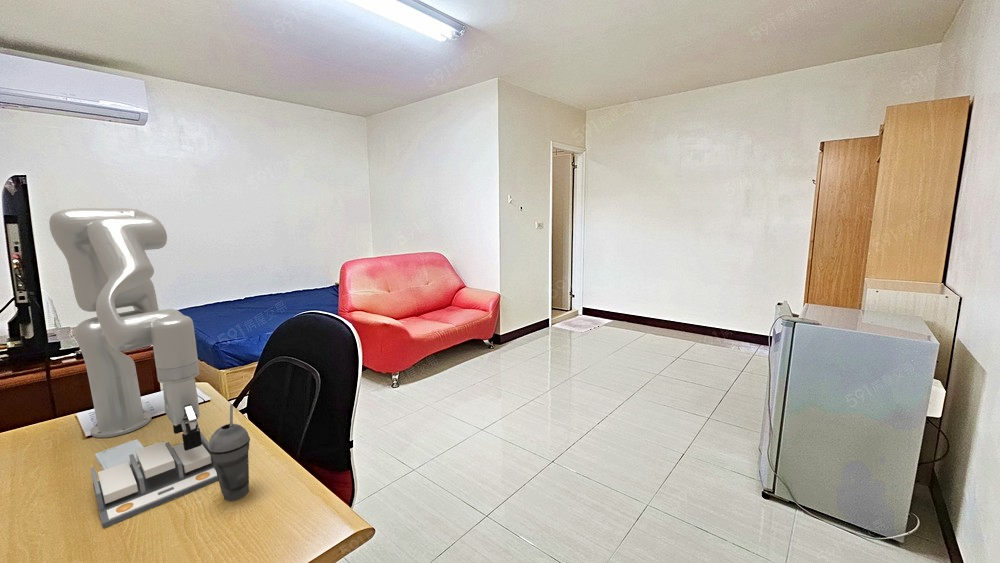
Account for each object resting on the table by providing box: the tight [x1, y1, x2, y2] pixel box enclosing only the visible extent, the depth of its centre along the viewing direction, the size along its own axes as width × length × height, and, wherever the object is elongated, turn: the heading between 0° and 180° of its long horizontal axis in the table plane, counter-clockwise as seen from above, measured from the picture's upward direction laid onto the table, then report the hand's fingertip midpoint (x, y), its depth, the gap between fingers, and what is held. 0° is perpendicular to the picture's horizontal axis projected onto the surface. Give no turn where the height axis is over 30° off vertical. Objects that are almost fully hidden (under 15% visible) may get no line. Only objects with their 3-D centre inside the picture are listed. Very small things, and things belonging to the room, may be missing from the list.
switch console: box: [90, 430, 219, 529], centre depth 92 cm, size 18×20×5 cm
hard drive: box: [94, 439, 145, 470], centre depth 101 cm, size 2×8×12 cm
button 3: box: [172, 442, 212, 473], centre depth 98 cm, size 11×5×3 cm, turn 48°
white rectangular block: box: [135, 441, 175, 478], centre depth 93 cm, size 11×5×3 cm, turn 48°
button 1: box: [97, 462, 138, 504], centre depth 88 cm, size 11×5×3 cm, turn 48°
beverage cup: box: [209, 403, 251, 502], centre depth 86 cm, size 7×7×20 cm
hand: (187, 439), depth 97 cm, fingers open, 9 cm apart
